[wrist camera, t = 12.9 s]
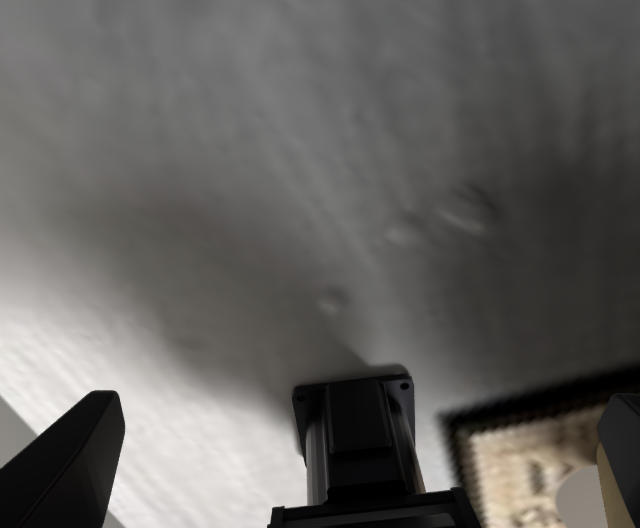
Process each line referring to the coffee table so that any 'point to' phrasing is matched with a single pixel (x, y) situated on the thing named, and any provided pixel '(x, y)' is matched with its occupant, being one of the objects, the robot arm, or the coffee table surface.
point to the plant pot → (611, 494)
